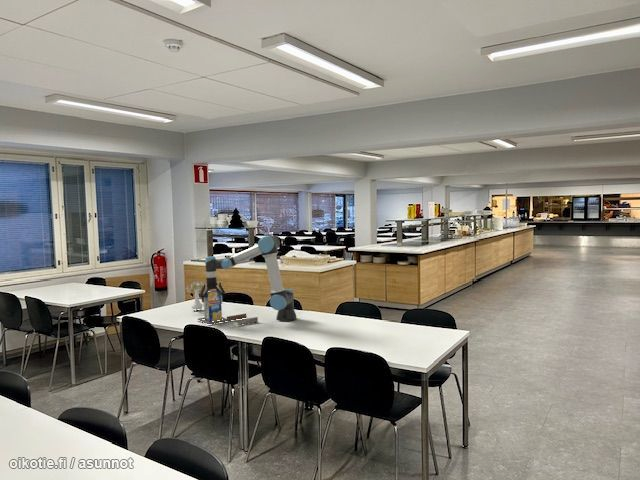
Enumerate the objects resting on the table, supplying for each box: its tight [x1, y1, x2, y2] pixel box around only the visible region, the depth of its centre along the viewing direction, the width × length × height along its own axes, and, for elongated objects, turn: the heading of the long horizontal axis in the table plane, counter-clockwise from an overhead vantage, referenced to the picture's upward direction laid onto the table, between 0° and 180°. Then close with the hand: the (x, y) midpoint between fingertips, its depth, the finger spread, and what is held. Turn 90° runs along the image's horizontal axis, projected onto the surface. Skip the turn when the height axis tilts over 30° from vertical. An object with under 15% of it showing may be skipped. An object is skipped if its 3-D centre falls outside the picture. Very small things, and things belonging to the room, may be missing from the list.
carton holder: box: [226, 313, 259, 326], centre depth 346 cm, size 18×16×4 cm
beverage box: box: [203, 289, 223, 322], centre depth 351 cm, size 7×11×22 cm, turn 134°
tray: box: [197, 316, 228, 324], centre depth 351 cm, size 20×16×2 cm
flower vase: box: [184, 280, 204, 310], centre depth 394 cm, size 13×18×25 cm
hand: (212, 304), depth 350 cm, fingers open, 13 cm apart
